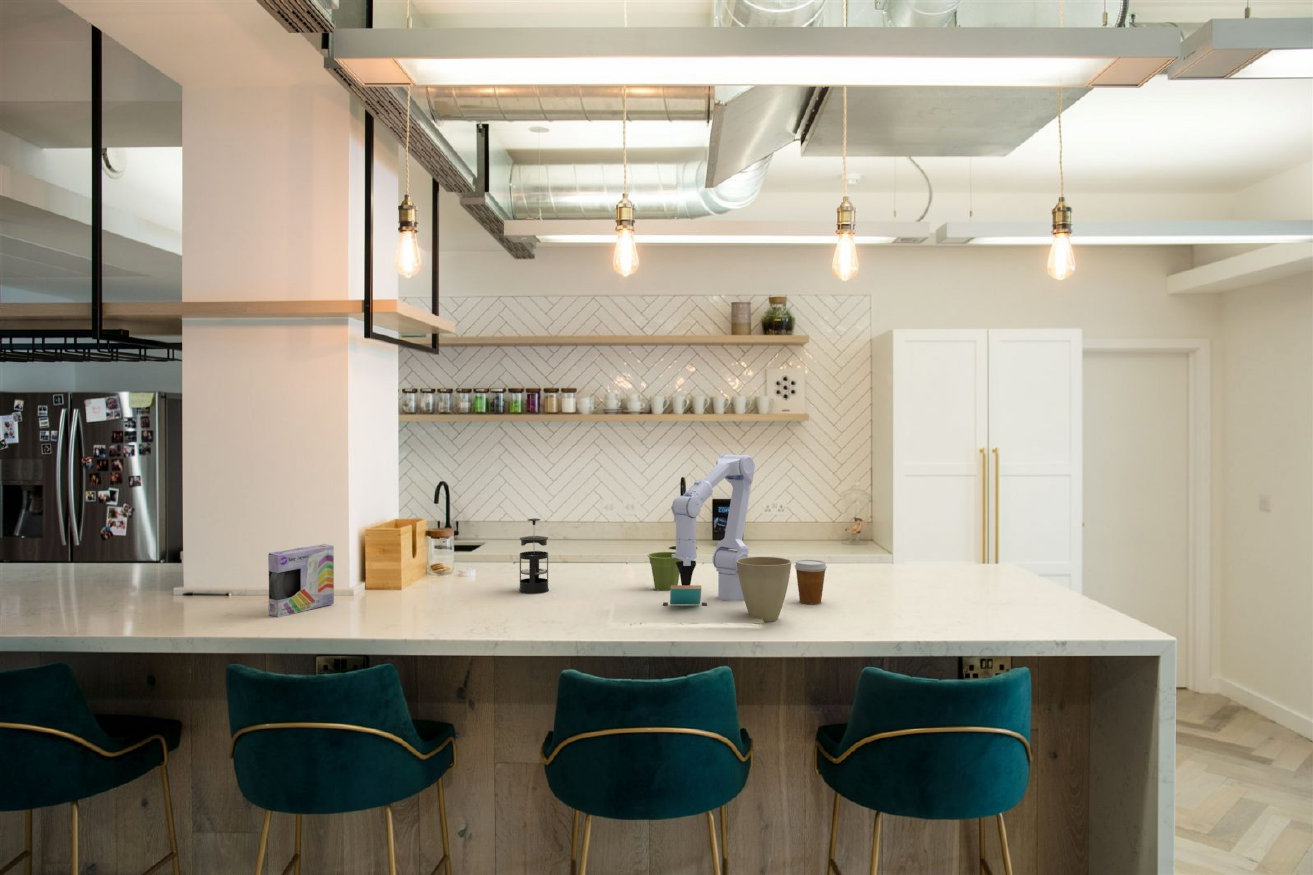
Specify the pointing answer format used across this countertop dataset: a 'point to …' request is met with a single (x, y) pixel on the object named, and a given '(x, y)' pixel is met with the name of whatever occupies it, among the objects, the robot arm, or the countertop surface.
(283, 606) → the cake pan box
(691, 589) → the tile
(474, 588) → the countertop surface
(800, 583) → the disposable coffee cup
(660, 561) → the plant pot
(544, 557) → the french press
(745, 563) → the plant pot
